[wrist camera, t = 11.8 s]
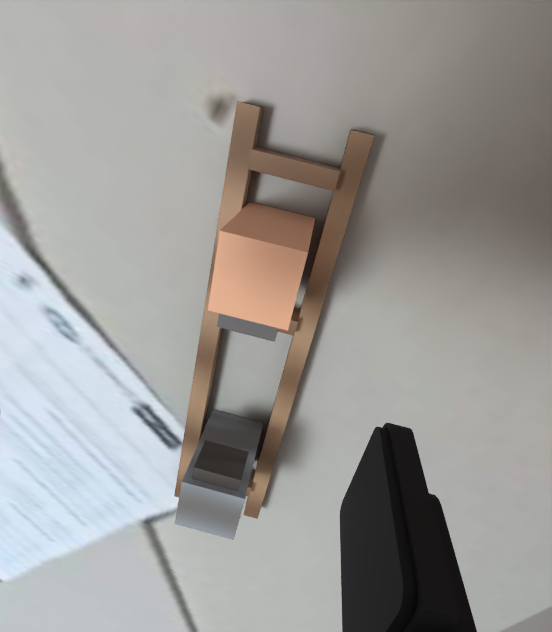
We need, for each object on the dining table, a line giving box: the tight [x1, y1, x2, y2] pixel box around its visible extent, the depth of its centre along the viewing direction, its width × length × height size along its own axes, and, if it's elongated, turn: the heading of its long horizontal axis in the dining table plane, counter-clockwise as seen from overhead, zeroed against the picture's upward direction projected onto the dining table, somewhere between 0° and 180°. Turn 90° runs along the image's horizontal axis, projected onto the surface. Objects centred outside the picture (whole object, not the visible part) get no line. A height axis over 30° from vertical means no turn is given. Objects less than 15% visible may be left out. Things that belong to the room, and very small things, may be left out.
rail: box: [175, 101, 374, 540], centre depth 25 cm, size 30×7×7 cm, turn 167°
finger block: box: [208, 202, 315, 342], centre depth 22 cm, size 5×4×7 cm
